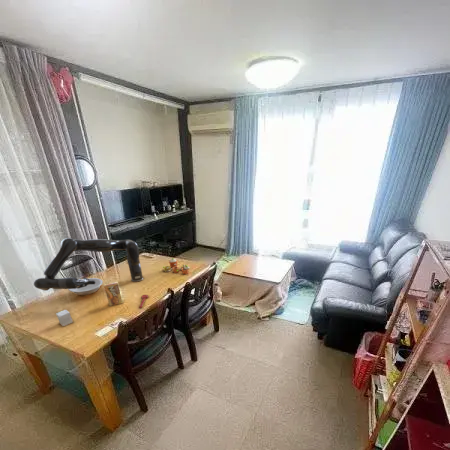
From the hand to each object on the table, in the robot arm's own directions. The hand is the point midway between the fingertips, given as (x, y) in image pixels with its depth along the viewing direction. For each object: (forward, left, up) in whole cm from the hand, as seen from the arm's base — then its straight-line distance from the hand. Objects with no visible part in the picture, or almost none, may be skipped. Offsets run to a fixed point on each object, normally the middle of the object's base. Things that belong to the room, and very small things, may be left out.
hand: (94, 282), depth 171 cm
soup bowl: (-20, -17, -17) cm, 31 cm away
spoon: (-1, +29, -17) cm, 34 cm away
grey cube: (+22, -14, -17) cm, 31 cm away
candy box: (0, +10, -17) cm, 20 cm away
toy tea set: (-56, +49, -17) cm, 77 cm away
